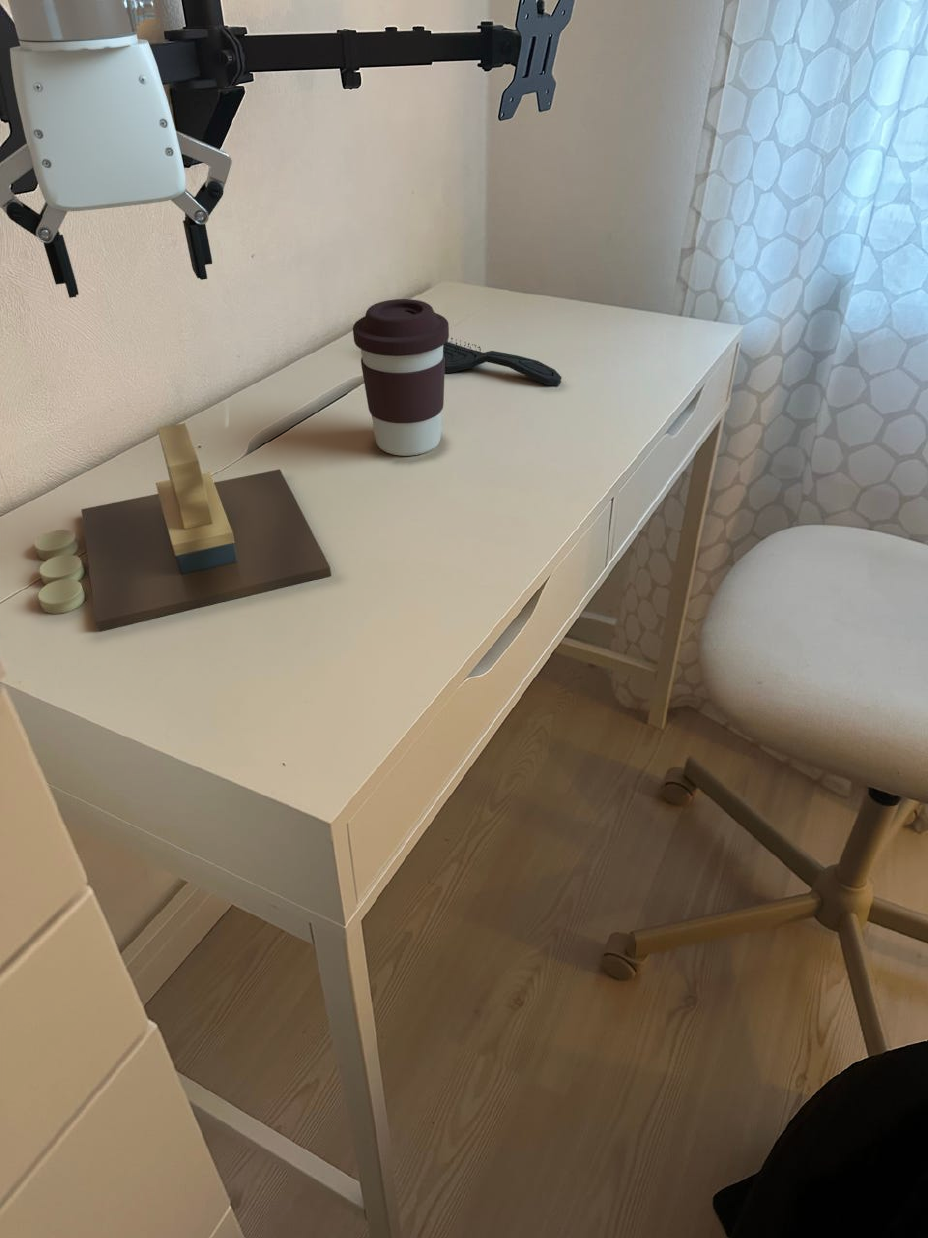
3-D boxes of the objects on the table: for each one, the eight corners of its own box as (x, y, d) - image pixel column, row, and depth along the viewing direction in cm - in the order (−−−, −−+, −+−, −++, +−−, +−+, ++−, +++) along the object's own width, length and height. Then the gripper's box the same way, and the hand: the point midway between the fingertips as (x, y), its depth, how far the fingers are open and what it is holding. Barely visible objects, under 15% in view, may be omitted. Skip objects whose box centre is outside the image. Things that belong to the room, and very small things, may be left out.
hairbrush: (547, 374, 108) (374, 331, 117) (544, 403, 110) (376, 358, 119) (575, 352, 113) (408, 312, 123) (572, 379, 116) (409, 338, 125)
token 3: (44, 618, 76) (40, 607, 75) (39, 596, 78) (35, 585, 78) (88, 606, 77) (84, 595, 76) (82, 585, 80) (78, 574, 79)
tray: (98, 631, 74) (95, 622, 74) (84, 517, 89) (81, 508, 88) (331, 575, 80) (330, 566, 79) (281, 477, 95) (280, 468, 94)
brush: (180, 575, 79) (154, 479, 73) (162, 511, 88) (139, 421, 82) (238, 561, 80) (218, 467, 75) (216, 500, 89) (196, 411, 83)
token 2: (45, 592, 79) (41, 581, 78) (40, 572, 82) (36, 561, 81) (87, 581, 80) (83, 570, 80) (81, 561, 83) (78, 550, 82)
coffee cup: (369, 467, 96) (356, 329, 87) (360, 428, 104) (346, 297, 95) (460, 457, 97) (456, 320, 88) (444, 419, 105) (438, 289, 96)
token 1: (34, 563, 83) (30, 552, 82) (42, 542, 86) (38, 531, 85) (74, 558, 83) (71, 547, 82) (81, 538, 86) (77, 527, 85)
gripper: (197, 10, 64) (239, 256, 75) (-65, 23, 60) (19, 285, 70) (215, 16, 59) (257, 281, 69) (-73, 31, 54) (20, 314, 64)
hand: (138, 283), depth 70 cm, fingers open, 9 cm apart
